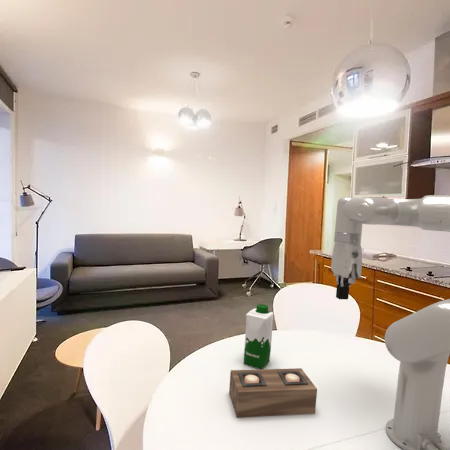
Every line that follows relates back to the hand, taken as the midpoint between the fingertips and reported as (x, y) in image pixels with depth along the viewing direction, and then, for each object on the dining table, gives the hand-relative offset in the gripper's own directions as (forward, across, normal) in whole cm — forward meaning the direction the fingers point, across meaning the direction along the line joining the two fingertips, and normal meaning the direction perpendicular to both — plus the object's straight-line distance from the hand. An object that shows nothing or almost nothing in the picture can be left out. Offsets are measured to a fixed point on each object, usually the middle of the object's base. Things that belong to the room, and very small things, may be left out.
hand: (341, 298), depth 100 cm
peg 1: (+29, -5, +28) cm, 40 cm away
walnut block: (+29, -5, +22) cm, 37 cm away
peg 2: (+29, -5, +16) cm, 33 cm away
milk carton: (+29, +18, +20) cm, 40 cm away
